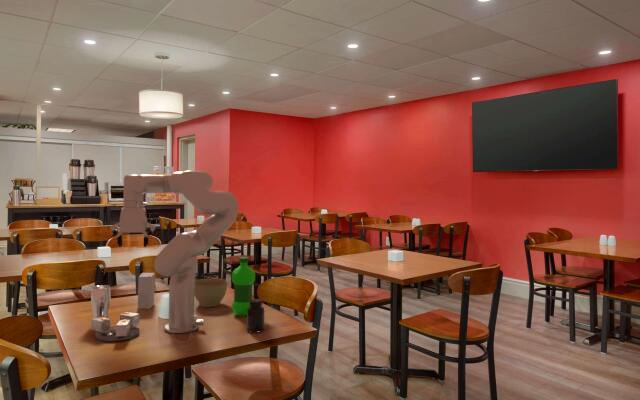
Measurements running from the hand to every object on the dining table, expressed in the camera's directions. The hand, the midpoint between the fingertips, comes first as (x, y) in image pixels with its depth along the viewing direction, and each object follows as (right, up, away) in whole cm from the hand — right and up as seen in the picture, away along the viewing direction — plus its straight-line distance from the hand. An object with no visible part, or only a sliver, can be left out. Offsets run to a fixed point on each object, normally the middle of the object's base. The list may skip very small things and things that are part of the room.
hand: (132, 246), depth 188 cm
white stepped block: (+4, -30, -12) cm, 32 cm away
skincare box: (-2, -30, +21) cm, 36 cm away
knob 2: (+6, -30, -23) cm, 38 cm away
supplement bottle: (+52, -32, -9) cm, 61 cm away
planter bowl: (+25, -30, +26) cm, 47 cm away
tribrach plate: (+2, -31, -18) cm, 36 cm away
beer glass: (-10, -31, -6) cm, 33 cm away
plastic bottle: (+43, -31, +12) cm, 55 cm away
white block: (-4, -30, -19) cm, 35 cm away
